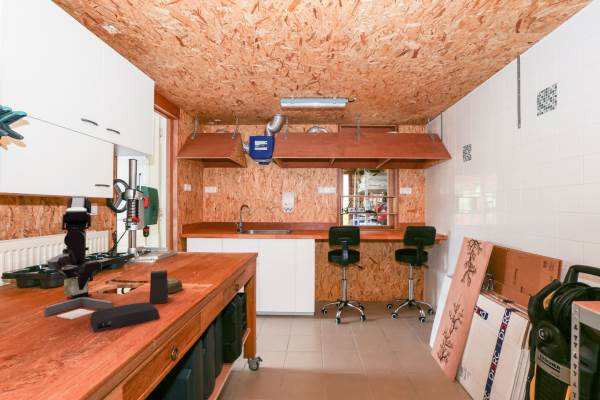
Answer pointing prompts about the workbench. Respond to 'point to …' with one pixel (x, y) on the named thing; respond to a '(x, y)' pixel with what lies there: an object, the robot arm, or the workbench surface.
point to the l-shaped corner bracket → (76, 303)
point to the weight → (174, 285)
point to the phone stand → (158, 287)
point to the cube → (73, 286)
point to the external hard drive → (123, 316)
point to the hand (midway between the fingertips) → (76, 289)
